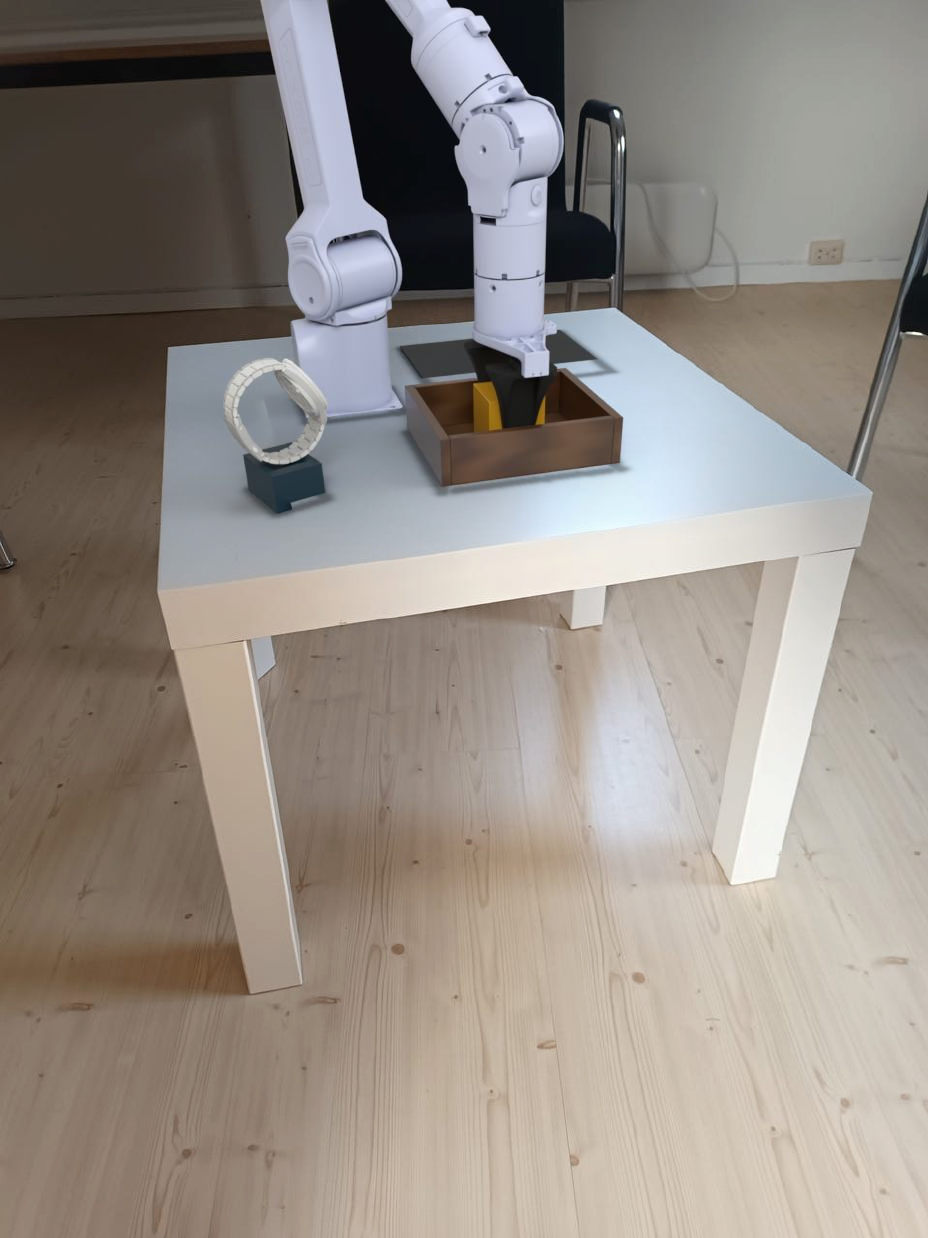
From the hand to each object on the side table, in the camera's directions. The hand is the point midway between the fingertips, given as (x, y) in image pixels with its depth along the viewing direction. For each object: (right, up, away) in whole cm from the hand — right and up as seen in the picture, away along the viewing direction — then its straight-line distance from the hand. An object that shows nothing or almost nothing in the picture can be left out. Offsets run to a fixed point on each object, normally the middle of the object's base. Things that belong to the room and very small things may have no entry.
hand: (508, 432), depth 82 cm
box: (0, -1, +1) cm, 2 cm away
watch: (-18, -6, -6) cm, 20 cm away
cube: (0, -1, +1) cm, 1 cm away
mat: (0, +13, +23) cm, 26 cm away
